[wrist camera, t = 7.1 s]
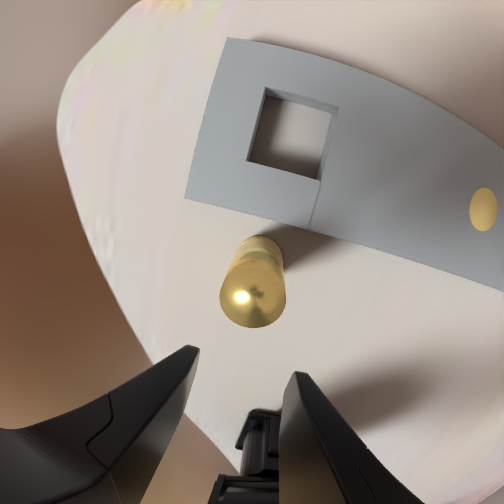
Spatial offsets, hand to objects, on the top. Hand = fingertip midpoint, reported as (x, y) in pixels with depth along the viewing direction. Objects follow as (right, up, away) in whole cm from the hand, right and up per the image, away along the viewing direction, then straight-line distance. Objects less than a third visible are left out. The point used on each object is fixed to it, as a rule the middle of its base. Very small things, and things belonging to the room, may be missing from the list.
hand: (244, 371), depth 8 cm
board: (+13, +8, +8) cm, 17 cm away
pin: (+1, +3, +11) cm, 11 cm away
